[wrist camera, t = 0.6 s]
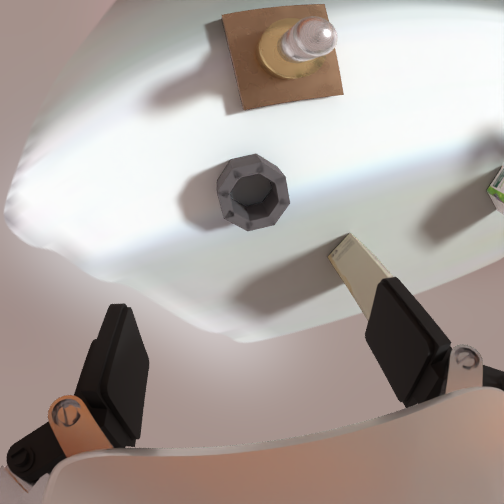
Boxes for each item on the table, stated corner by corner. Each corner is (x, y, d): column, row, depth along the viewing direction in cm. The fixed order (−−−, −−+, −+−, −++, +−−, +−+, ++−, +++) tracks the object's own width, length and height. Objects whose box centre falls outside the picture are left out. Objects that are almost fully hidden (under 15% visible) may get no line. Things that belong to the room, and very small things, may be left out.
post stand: (319, 7, 22) (373, -29, 12) (338, 94, 27) (400, 100, 17) (221, 18, 22) (225, -25, 12) (243, 109, 27) (259, 118, 17)
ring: (274, 149, 30) (282, 157, 26) (284, 206, 33) (293, 220, 30) (212, 163, 30) (211, 173, 26) (227, 219, 33) (228, 236, 30)
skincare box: (325, 256, 37) (364, 322, 26) (350, 230, 35) (399, 289, 25) (355, 279, 39) (395, 343, 29) (378, 256, 38) (425, 315, 27)
